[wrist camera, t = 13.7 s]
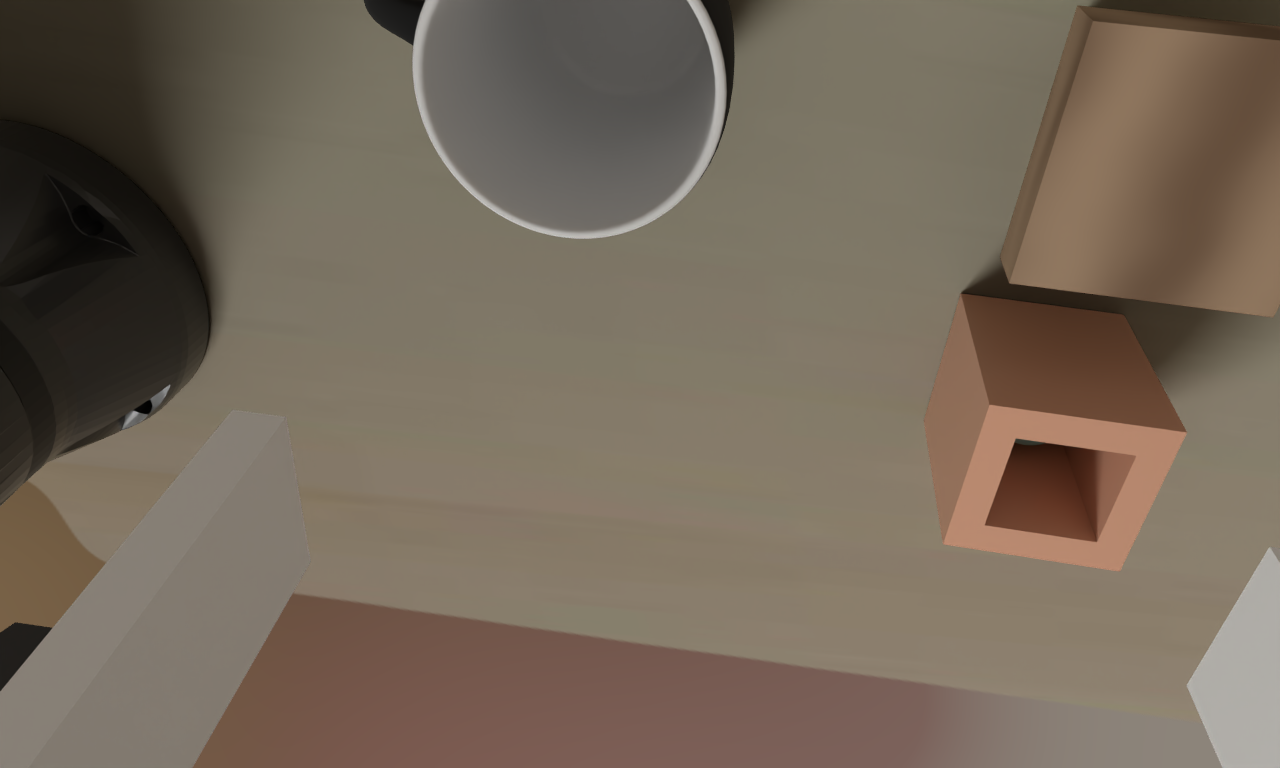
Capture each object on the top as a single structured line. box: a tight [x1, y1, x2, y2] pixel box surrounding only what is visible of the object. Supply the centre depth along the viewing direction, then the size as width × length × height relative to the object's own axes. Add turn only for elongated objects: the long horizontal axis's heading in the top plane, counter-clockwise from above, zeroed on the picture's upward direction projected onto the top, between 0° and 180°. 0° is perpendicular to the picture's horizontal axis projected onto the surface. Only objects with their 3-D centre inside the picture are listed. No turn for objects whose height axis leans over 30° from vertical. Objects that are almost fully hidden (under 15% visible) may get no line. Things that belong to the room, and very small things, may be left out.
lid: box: [1000, 6, 1280, 317], centre depth 30 cm, size 8×8×2 cm
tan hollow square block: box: [924, 293, 1187, 571], centre depth 37 cm, size 6×6×8 cm
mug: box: [364, 0, 734, 239], centre depth 31 cm, size 12×9×10 cm
